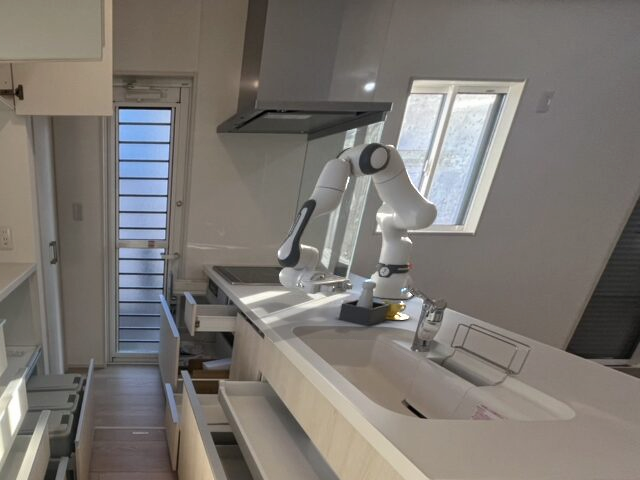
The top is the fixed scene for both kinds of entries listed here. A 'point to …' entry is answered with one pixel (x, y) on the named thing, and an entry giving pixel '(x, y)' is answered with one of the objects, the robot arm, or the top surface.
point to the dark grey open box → (363, 313)
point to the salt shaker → (367, 295)
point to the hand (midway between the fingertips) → (342, 288)
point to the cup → (395, 310)
